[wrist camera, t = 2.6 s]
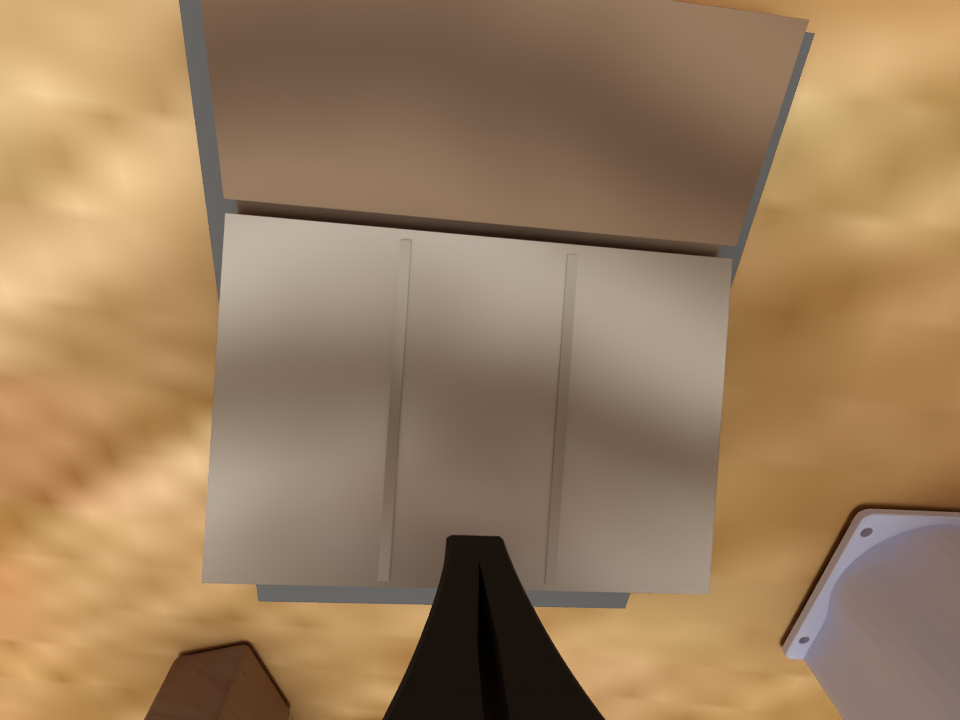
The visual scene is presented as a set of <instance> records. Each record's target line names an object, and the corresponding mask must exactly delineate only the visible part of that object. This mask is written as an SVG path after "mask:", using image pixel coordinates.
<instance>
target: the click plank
mask: <svg viewBox="0 0 960 720" xmlns="http://www.w3.org/2000/svg"><path fill="white" fill-rule="evenodd" d="M731 272H732V259H728V258H717V257H706V256H694V255H683V254H672V253H661V252H650V251H639V250H628V249H617V248H606V247H595V246H584V245H573V244H561V243H550V242H539V241H528V240H517V239H506V238H495V237H484V236H473V235H462V234H451V233H439V232H428V231H417V230H406V229H395V228H384V227H373V226H362V225H351V224H340V223H329V222H318V221H306V220H295V219H284V218H273V217H262V216H251V215H240V214H229V213H225V224H224V240H223V255H222V271H221V287H220V302H219V318H218V334H217V350H216V365H215V381H214V397H213V412H212V428H211V444H210V459H209V475H208V491H207V507H206V522H205V538H204V554H203V569H202V583H223V584H268V585H312V586H356V587H400V588H438V585H439V582H440V577H441V573H442V569H443V565H444V558H445V547H446V538H447V537H449V536H450V535H477V536H500V537H501V538H502V539H503V540H504V543H505V546H506V549H507V551H508V554H509V556H510V559H511V561H512V564H513V566H514V569H515V571H516V573H517V575H518V577H519V580H520V582H521V584H522V586H523V588H524V590H533V591H578V592H622V593H666V594H709V585H710V571H711V557H712V542H713V528H714V514H715V500H716V486H717V471H718V457H719V443H720V429H721V414H722V400H723V386H724V372H725V357H726V343H727V329H728V315H729V301H730V286H731Z"/></svg>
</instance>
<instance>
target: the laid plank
mask: <svg viewBox="0 0 960 720" xmlns="http://www.w3.org/2000/svg"><path fill="white" fill-rule="evenodd" d="M201 9H202V17H203V26H204V34H205V43H206V51H207V60H208V69H209V77H210V86H211V94H212V103H213V111H214V120H215V128H216V137H217V145H218V154H219V163H220V171H221V180H222V188H223V197H224V199H234V200H236V201H237V211H238V214H240V215H251V216H262V217H273V218H284V219H295V220H306V221H318V222H329V223H340V224H351V225H362V226H373V227H384V228H395V229H406V230H417V231H428V232H439V233H451V234H462V235H473V236H484V237H495V238H506V239H517V240H528V241H539V242H550V243H561V244H573V245H584V246H595V247H606V248H617V249H628V250H639V251H650V252H661V253H672V254H683V255H694V256H706V257H717V256H718V252H719V249H720V246H721V245H729V246H736V245H737V242H738V239H739V236H740V233H741V230H742V227H743V224H744V221H745V217H746V214H747V211H748V208H749V205H750V202H751V199H752V196H753V193H754V190H755V186H756V183H757V180H758V177H759V174H760V171H761V168H762V165H763V162H764V159H765V155H766V152H767V149H768V146H769V143H770V140H771V137H772V134H773V131H774V128H775V124H776V121H777V118H778V115H779V112H780V109H781V106H782V103H783V100H784V96H785V93H786V90H787V87H788V84H789V81H790V78H791V75H792V72H793V69H794V65H795V62H796V59H797V56H798V53H799V50H800V47H801V44H802V41H803V38H804V34H805V31H806V28H807V25H808V22H809V20H807V19H800V18H792V17H785V16H778V15H771V14H764V13H757V12H750V11H743V10H736V9H728V8H721V7H714V6H707V5H700V4H693V3H686V2H679V1H671V0H201Z"/></svg>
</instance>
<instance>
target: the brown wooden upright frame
mask: <svg viewBox="0 0 960 720" xmlns="http://www.w3.org/2000/svg"><path fill="white" fill-rule="evenodd" d="M288 716H289V709H288V706H287V705H286V703H285V702H284V700H283V699H282V697H281V695H280V694H279V692H278V691H277V689H276V688H275V686H274V685H273V683H272V681H271V680H270V678H269V677H268V675H267V674H266V672H265V671H264V669H263V667H262V666H261V664H260V663H259V661H258V660H257V658H256V656H255V655H254V653H253V652H252V650H251V649H250V647H249V646H247V645H243V644H242V645H237V646H232V647H226V648H221V649H216V650H211V651H206V652H200V653H195V654H190V655H185V656H180V657H178V658H177V659H176V660H175V661H174V662H173V664H172V666H171V668H170V670H169V672H168V674H167V676H166V678H165V680H164V682H163V684H162V686H161V688H160V690H159V692H158V694H157V696H156V698H155V700H154V701H153V703H152V705H151V707H150V709H149V711H148V713H147V715H146V717H145V719H144V720H288Z"/></svg>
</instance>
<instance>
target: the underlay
mask: <svg viewBox="0 0 960 720" xmlns="http://www.w3.org/2000/svg"><path fill="white" fill-rule="evenodd" d="M179 4H180V12H181V19H182V27H183V34H184V42H185V50H186V57H187V65H188V72H189V80H190V87H191V95H192V102H193V110H194V118H195V125H196V133H197V140H198V148H199V155H200V163H201V170H202V178H203V186H204V193H205V201H206V208H207V216H208V223H209V231H210V238H211V246H212V254H213V261H214V269H215V276H216V284H217V291H218V299H219V302H220V287H221V271H222V255H223V240H224V224H225V213H229V214H238V211H237V201H236V200H234V199H224V197H223V188H222V180H221V171H220V163H219V154H218V145H217V137H216V128H215V120H214V111H213V103H212V94H211V86H210V77H209V69H208V60H207V51H206V43H205V34H204V26H203V17H202V9H201V0H179ZM814 34H815V33H808V32H805V34H804V38H803V41H802V44H801V47H800V50H799V53H798V56H797V59H796V62H795V65H794V69H793V72H792V75H791V78H790V81H789V84H788V87H787V90H786V93H785V96H784V100H783V103H782V106H781V109H780V112H779V115H778V118H777V121H776V124H775V128H774V131H773V134H772V137H771V140H770V143H769V146H768V149H767V152H766V155H765V159H764V162H763V165H762V168H761V171H760V174H759V177H758V180H757V183H756V186H755V190H754V193H753V196H752V199H751V202H750V205H749V208H748V211H747V214H746V217H745V221H744V224H743V227H742V230H741V233H740V236H739V239H738V242H737V245H736V246H729V245H721V246H720V249H719V252H718V256H717V258H728V259H732V272H731V286H732V283H733V280H734V277H735V274H736V271H737V268H738V265H739V261H740V258H741V255H742V252H743V249H744V246H745V243H746V240H747V237H748V234H749V231H750V228H751V225H752V222H753V219H754V216H755V213H756V210H757V207H758V204H759V201H760V198H761V195H762V192H763V189H764V186H765V183H766V180H767V177H768V174H769V170H770V167H771V164H772V161H773V158H774V155H775V152H776V149H777V146H778V143H779V140H780V137H781V134H782V131H783V128H784V125H785V122H786V119H787V116H788V113H789V110H790V107H791V104H792V101H793V98H794V95H795V92H796V89H797V86H798V82H799V79H800V76H801V73H802V70H803V67H804V64H805V61H806V58H807V55H808V52H809V49H810V46H811V43H812V40H813V37H814ZM731 286H730V289H731ZM256 586H257V593H258V601H269V602H320V603H372V604H423V605H432V604H433V601H434V598H435V595H436V591H437V588H400V587H356V586H312V585H268V584H256ZM525 592H526V594H527V596H528V598H529V600H530V602H531V604H532V606H533V607H577V608H625V607H626V604H627V601H628V598H629V595H630V593H622V592H578V591H533V590H525Z"/></svg>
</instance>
